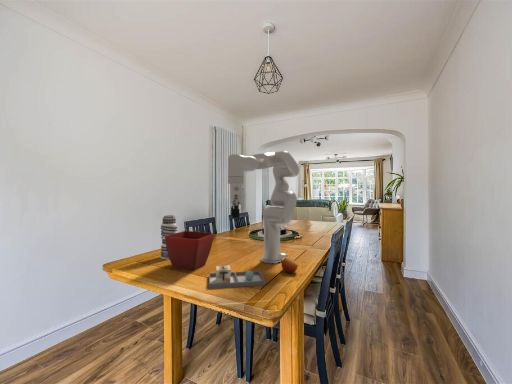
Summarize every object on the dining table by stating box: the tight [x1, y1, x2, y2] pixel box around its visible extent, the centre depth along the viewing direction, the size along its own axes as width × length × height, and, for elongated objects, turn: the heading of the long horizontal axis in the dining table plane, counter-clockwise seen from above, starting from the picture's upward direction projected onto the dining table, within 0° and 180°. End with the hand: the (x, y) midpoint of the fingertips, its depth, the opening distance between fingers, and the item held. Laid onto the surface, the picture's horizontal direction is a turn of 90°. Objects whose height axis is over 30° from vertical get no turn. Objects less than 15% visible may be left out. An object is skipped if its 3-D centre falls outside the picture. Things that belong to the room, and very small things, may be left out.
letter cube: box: [215, 264, 232, 283], centre depth 102 cm, size 6×6×6 cm
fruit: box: [281, 257, 299, 274], centre depth 117 cm, size 8×8×8 cm
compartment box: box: [208, 270, 267, 289], centre depth 104 cm, size 24×13×2 cm, turn 101°
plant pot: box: [165, 230, 215, 271], centre depth 123 cm, size 19×19×17 cm
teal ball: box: [245, 270, 254, 280], centre depth 105 cm, size 4×4×4 cm
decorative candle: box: [160, 214, 178, 260], centre depth 138 cm, size 9×9×25 cm
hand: (234, 216), depth 110 cm, fingers open, 9 cm apart
